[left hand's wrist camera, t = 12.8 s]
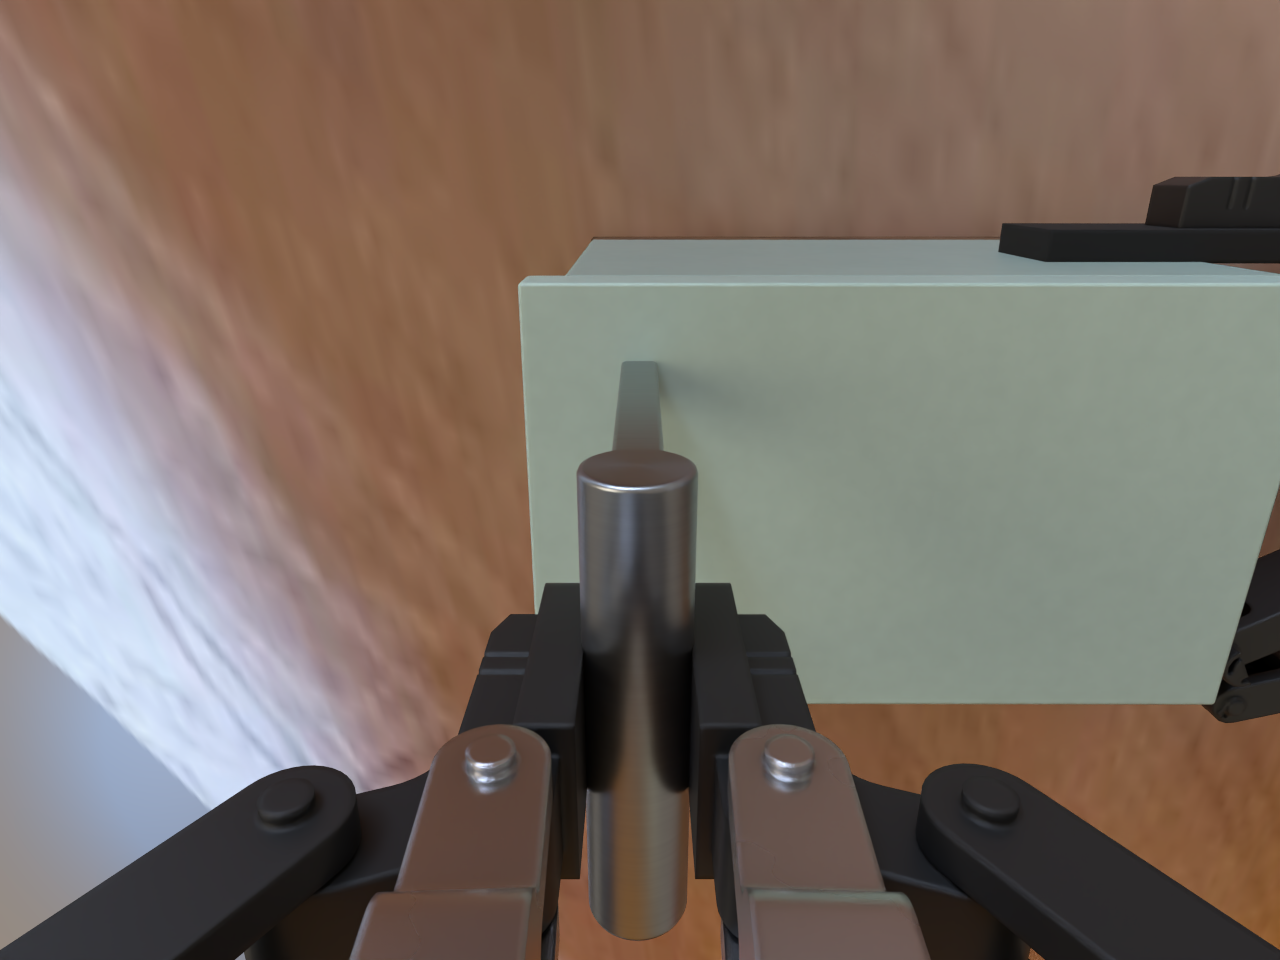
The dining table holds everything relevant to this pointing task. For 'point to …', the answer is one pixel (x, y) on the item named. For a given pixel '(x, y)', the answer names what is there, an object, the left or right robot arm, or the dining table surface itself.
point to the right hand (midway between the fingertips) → (991, 438)
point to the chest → (849, 258)
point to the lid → (888, 501)
